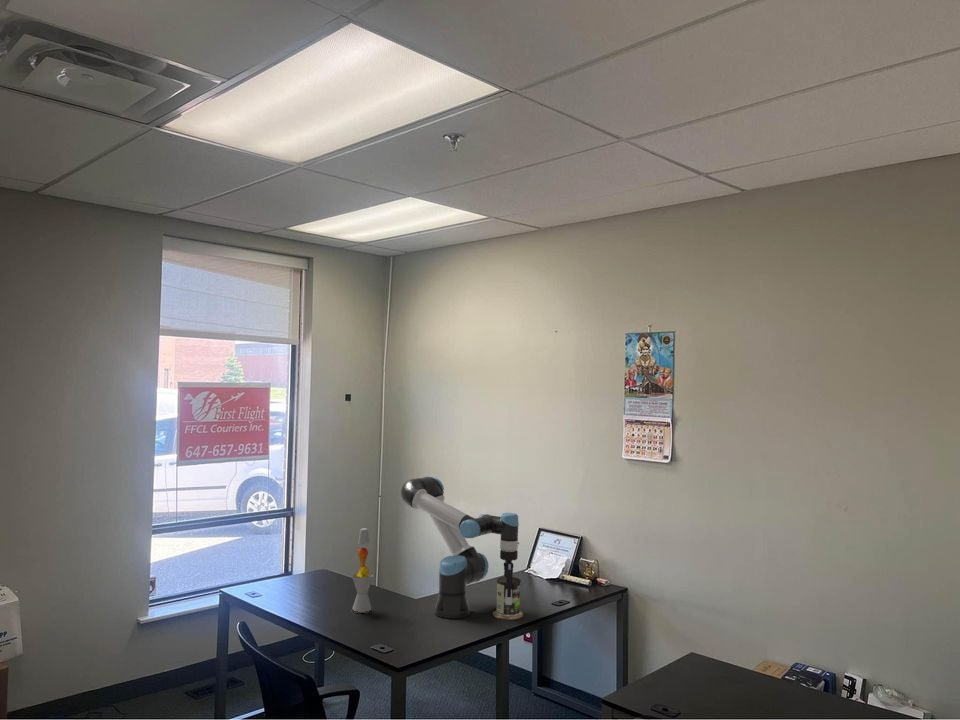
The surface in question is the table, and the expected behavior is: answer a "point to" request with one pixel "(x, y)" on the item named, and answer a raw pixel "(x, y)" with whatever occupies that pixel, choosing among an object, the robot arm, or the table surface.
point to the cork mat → (508, 617)
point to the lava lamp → (362, 576)
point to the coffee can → (501, 594)
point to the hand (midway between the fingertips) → (507, 599)
